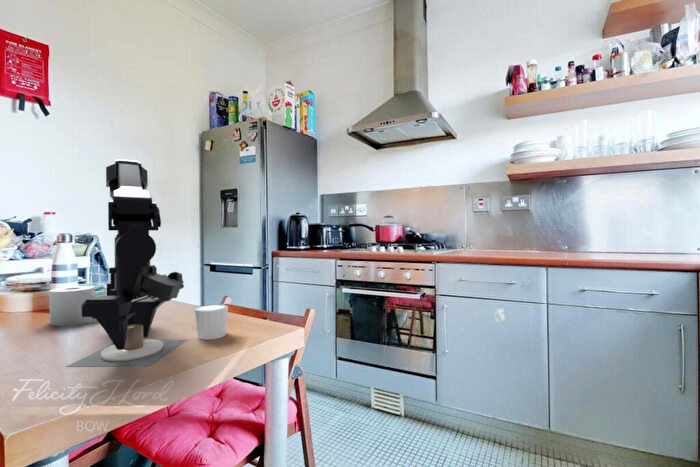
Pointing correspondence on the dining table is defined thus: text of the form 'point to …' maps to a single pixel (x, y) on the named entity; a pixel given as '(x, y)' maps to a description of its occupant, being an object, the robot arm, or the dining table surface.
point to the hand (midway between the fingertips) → (133, 342)
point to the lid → (133, 346)
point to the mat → (96, 360)
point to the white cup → (211, 321)
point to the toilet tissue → (69, 305)
